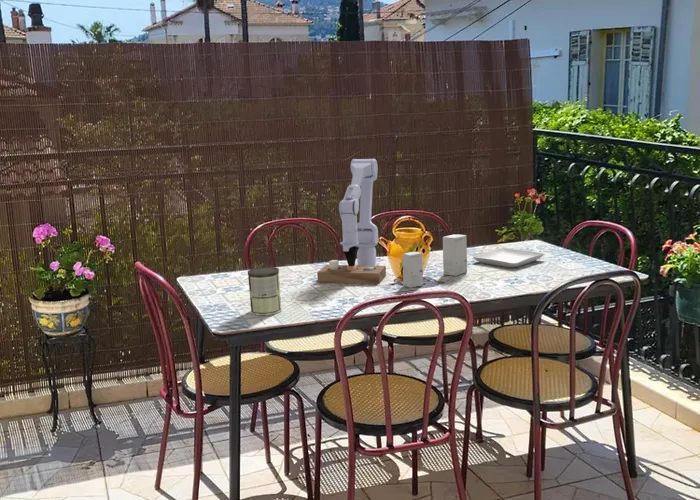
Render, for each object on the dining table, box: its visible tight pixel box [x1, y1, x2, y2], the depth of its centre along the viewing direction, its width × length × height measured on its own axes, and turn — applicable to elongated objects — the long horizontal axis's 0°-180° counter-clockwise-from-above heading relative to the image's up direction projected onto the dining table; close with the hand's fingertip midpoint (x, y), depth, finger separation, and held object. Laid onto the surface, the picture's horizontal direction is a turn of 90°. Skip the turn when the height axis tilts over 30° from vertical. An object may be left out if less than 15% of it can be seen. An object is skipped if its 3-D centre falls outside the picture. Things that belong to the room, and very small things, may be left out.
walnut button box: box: [316, 264, 387, 285], centre depth 276 cm, size 12×24×4 cm, turn 75°
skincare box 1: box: [402, 251, 424, 289], centre depth 262 cm, size 6×4×12 cm
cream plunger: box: [328, 259, 340, 270], centre depth 278 cm, size 4×4×4 cm
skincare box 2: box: [442, 233, 468, 277], centre depth 276 cm, size 8×6×15 cm
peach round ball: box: [346, 264, 356, 270], centre depth 276 cm, size 4×4×4 cm
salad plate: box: [472, 247, 545, 268], centre depth 293 cm, size 21×21×3 cm
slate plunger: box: [365, 267, 374, 271], centre depth 274 cm, size 4×4×4 cm
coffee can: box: [247, 266, 282, 316], centre depth 239 cm, size 10×10×14 cm
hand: (351, 265), depth 276 cm, fingers closed, pressing on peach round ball
